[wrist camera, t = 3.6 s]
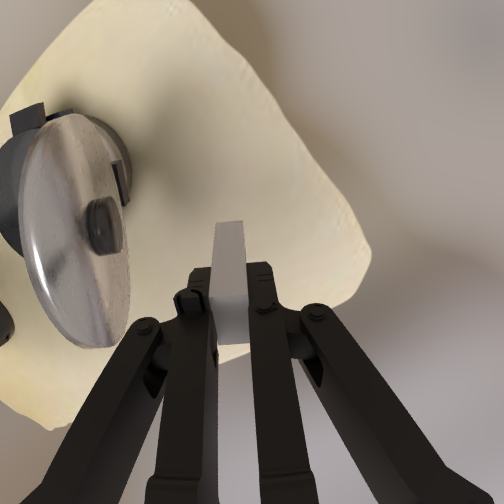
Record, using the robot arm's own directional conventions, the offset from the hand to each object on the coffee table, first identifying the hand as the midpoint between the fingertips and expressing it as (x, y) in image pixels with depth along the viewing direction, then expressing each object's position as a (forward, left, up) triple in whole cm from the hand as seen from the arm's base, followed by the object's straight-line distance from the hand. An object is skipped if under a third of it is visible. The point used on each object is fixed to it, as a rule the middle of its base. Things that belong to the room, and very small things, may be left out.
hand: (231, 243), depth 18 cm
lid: (-13, 0, -5) cm, 14 cm away
